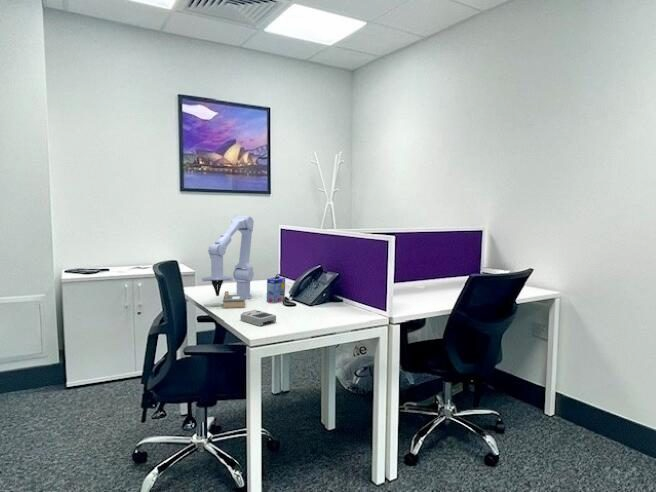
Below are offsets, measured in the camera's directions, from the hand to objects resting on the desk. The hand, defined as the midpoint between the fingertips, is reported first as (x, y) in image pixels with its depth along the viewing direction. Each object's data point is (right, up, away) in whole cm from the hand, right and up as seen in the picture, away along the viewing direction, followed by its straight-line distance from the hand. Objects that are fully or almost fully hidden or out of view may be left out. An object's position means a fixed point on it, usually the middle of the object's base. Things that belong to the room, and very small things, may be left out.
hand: (217, 295), depth 220 cm
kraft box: (+8, -5, +2) cm, 10 cm away
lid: (+8, -2, +2) cm, 8 cm away
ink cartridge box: (+28, -5, +12) cm, 30 cm away
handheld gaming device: (+24, -9, -28) cm, 38 cm away
